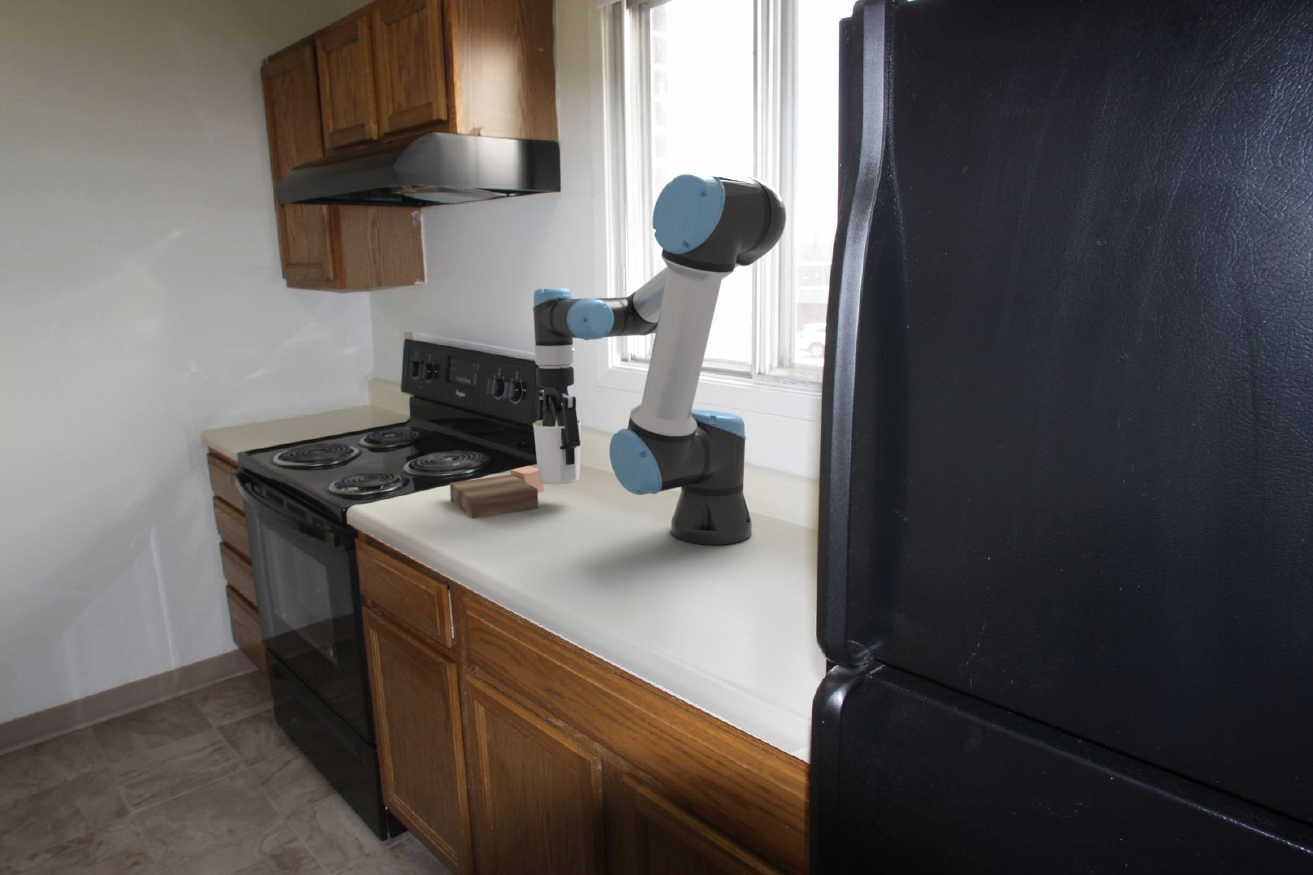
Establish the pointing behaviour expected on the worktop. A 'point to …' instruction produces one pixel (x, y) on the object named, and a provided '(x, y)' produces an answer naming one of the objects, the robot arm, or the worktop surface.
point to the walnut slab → (493, 495)
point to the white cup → (552, 453)
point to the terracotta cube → (529, 476)
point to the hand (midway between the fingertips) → (558, 475)
